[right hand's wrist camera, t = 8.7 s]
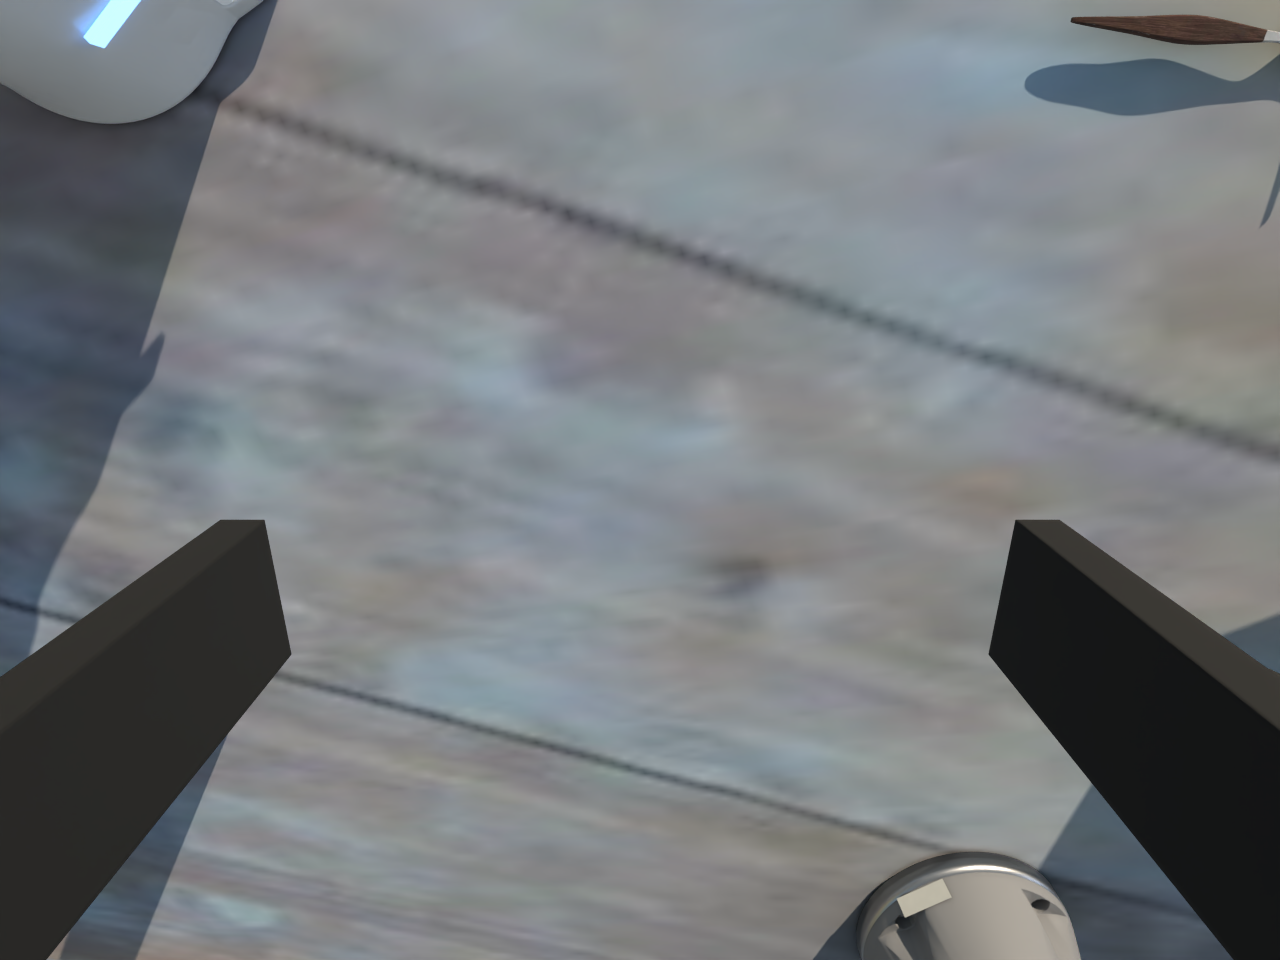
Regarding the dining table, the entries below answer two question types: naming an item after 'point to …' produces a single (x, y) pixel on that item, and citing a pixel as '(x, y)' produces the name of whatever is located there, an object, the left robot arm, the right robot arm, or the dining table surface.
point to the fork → (1183, 29)
